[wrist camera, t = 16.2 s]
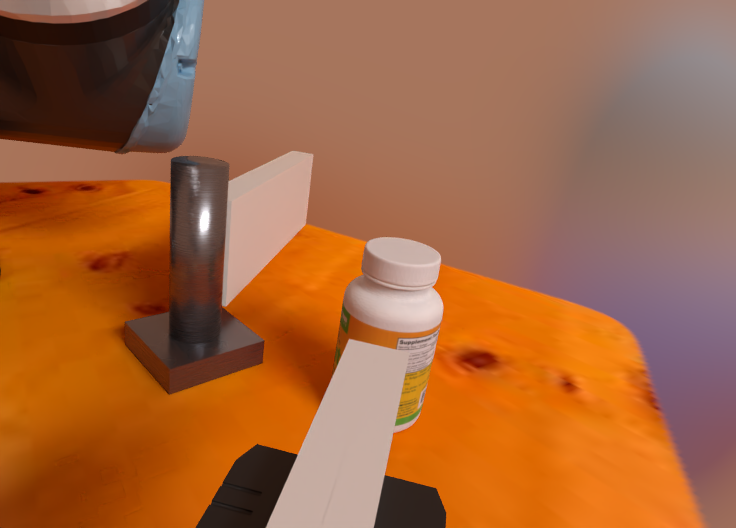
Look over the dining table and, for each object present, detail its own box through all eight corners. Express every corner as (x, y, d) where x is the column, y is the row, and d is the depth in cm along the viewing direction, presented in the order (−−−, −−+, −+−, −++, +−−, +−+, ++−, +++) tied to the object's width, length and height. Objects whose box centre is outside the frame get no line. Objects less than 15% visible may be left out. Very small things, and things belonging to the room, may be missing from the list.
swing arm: (225, 306, 33) (231, 201, 31) (196, 300, 34) (199, 195, 31) (305, 224, 52) (313, 154, 49) (286, 220, 52) (292, 150, 49)
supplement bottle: (312, 388, 31) (332, 234, 27) (387, 372, 34) (414, 230, 30) (357, 447, 27) (388, 274, 23) (438, 423, 30) (476, 265, 26)
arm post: (125, 344, 32) (121, 150, 28) (213, 322, 36) (221, 150, 32) (169, 394, 28) (172, 178, 24) (262, 362, 33) (279, 174, 28)
